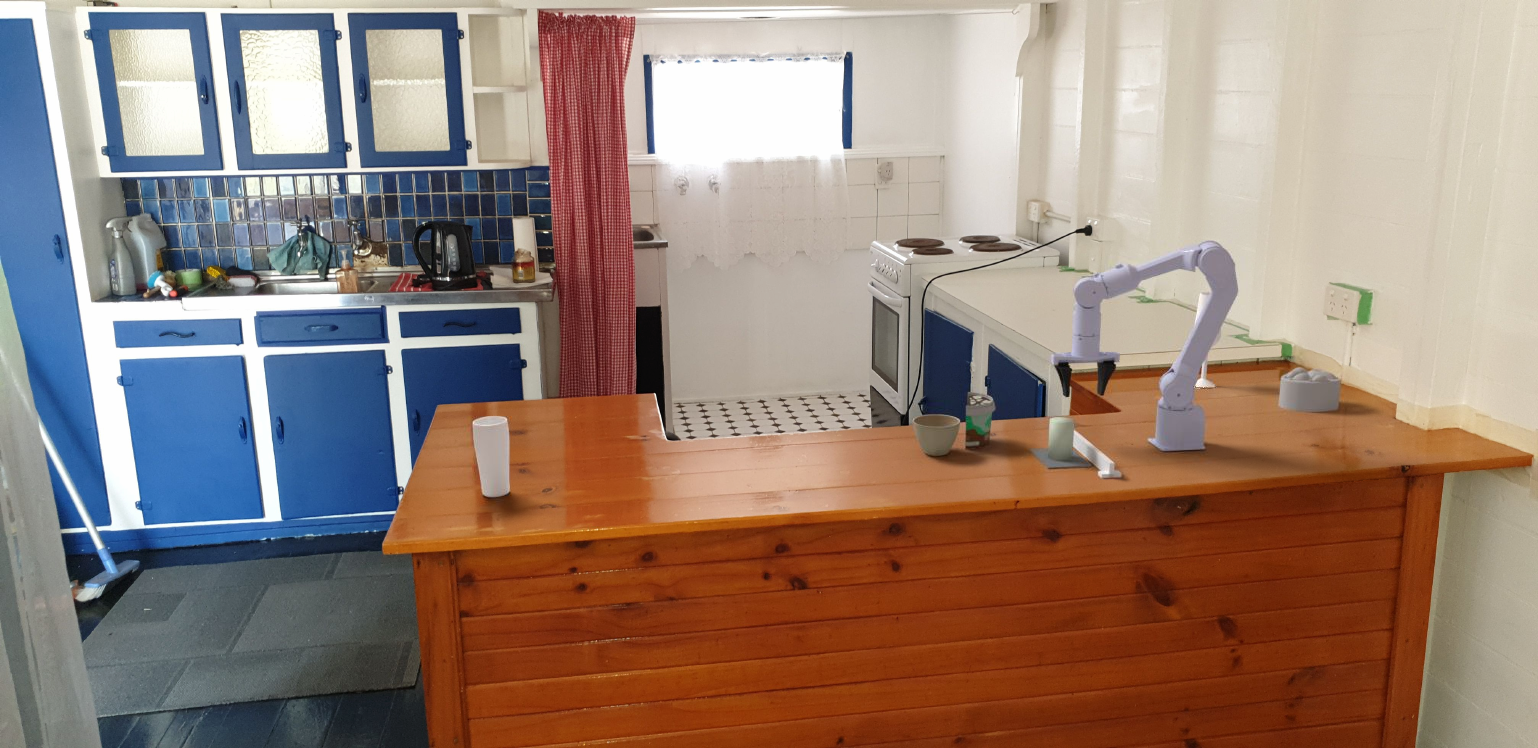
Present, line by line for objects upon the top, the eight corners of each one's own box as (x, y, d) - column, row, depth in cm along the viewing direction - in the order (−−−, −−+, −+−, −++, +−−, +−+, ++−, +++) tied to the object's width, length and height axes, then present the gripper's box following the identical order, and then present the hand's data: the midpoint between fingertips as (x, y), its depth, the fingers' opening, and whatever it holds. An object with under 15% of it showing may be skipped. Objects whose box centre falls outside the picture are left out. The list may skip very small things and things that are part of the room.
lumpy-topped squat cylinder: (1344, 409, 264) (1348, 374, 262) (1295, 414, 262) (1298, 378, 260) (1315, 398, 274) (1318, 364, 272) (1267, 402, 272) (1270, 368, 270)
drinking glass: (481, 488, 224) (475, 416, 220) (515, 486, 224) (510, 415, 220) (475, 500, 217) (469, 426, 213) (511, 498, 218) (505, 424, 214)
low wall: (1075, 438, 247) (1076, 425, 246) (1121, 477, 222) (1122, 462, 221) (1058, 439, 247) (1058, 426, 246) (1101, 478, 222) (1102, 463, 221)
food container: (994, 452, 239) (995, 407, 237) (965, 451, 240) (966, 406, 238) (994, 435, 251) (995, 392, 248) (966, 434, 252) (967, 391, 250)
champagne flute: (1191, 388, 286) (1198, 295, 280) (1186, 382, 292) (1193, 291, 286) (1219, 389, 285) (1226, 296, 279) (1213, 382, 291) (1220, 291, 285)
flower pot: (965, 448, 242) (965, 416, 240) (951, 462, 233) (952, 429, 232) (920, 443, 246) (921, 411, 245) (906, 456, 238) (906, 424, 236)
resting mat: (1071, 448, 240) (1071, 447, 240) (1091, 466, 228) (1091, 465, 228) (1030, 450, 239) (1030, 449, 239) (1048, 468, 228) (1048, 467, 228)
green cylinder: (1067, 453, 236) (1069, 416, 235) (1075, 460, 232) (1077, 423, 230) (1044, 453, 236) (1046, 417, 234) (1052, 461, 231) (1054, 424, 229)
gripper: (1112, 328, 244) (1108, 389, 247) (1047, 331, 243) (1044, 391, 246) (1124, 335, 237) (1121, 397, 240) (1057, 338, 236) (1055, 400, 239)
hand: (1083, 395), depth 243 cm, fingers open, 7 cm apart
